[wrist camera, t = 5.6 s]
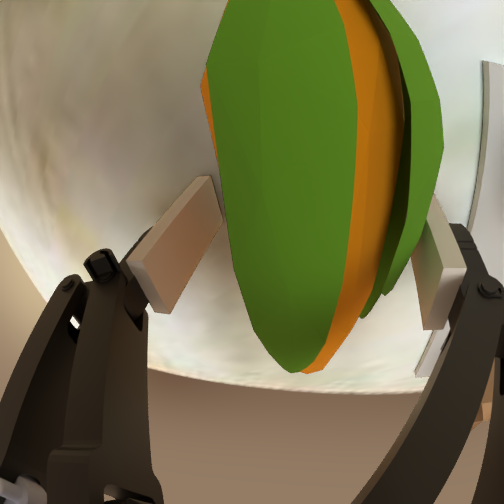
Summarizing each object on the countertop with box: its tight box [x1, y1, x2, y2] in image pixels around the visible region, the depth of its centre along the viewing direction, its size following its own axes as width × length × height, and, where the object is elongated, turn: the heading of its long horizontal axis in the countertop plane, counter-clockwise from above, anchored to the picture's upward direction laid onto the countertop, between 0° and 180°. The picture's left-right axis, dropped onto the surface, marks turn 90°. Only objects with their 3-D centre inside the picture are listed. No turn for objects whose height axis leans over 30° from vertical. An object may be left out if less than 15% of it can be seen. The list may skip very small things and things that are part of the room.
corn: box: [200, 0, 444, 374], centre depth 11 cm, size 7×8×20 cm
